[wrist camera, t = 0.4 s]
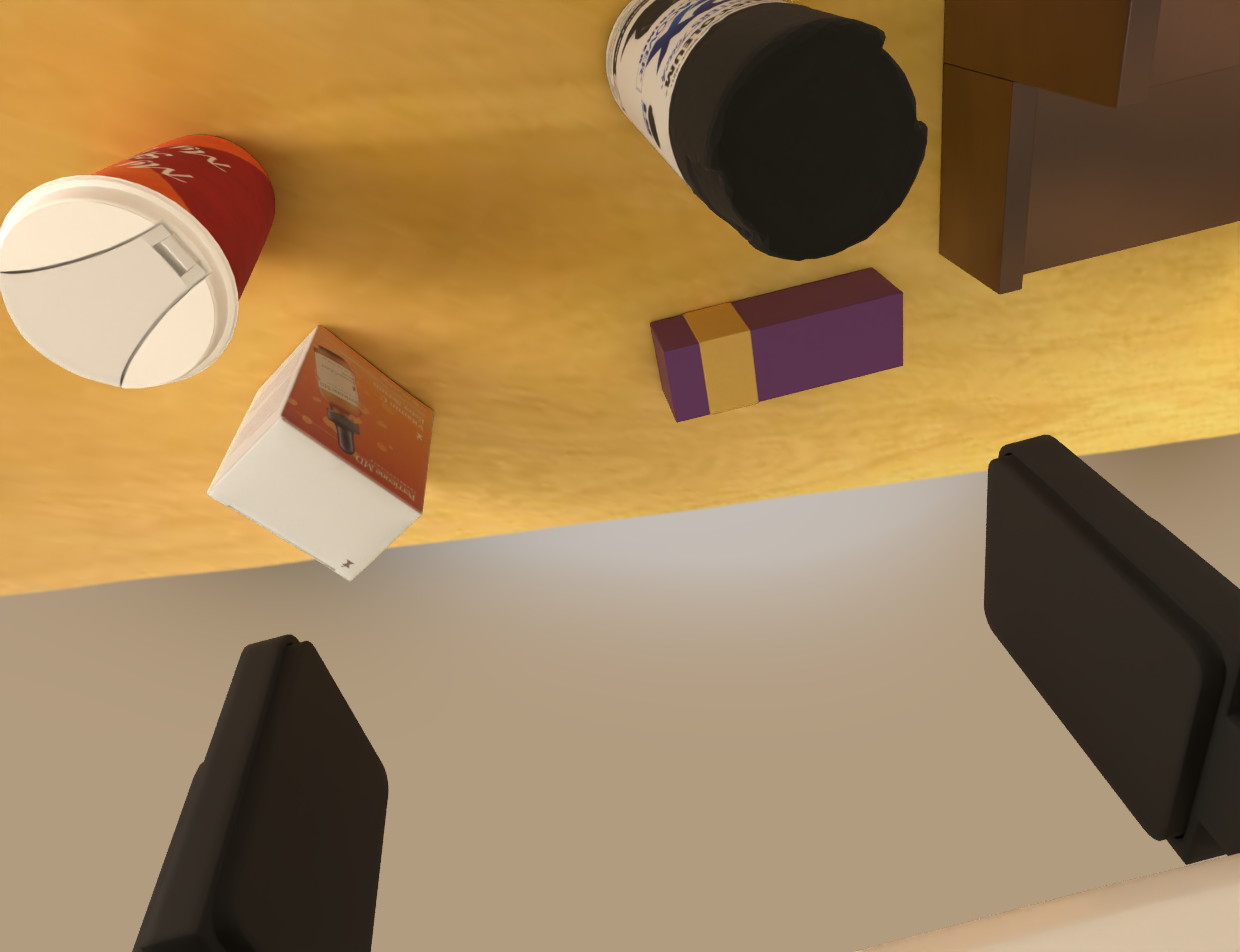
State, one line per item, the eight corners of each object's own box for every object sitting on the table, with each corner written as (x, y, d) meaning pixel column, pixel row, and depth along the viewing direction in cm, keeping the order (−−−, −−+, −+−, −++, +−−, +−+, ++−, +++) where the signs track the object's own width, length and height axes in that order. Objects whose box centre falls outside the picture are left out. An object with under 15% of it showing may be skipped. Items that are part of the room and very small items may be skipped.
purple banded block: (649, 321, 47) (663, 351, 43) (872, 265, 47) (903, 291, 44) (662, 390, 49) (677, 424, 46) (873, 337, 50) (903, 367, 46)
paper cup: (217, 74, 37) (102, 136, 26) (332, 221, 41) (277, 332, 30) (85, 168, 39) (-83, 268, 27) (209, 302, 43) (110, 438, 31)
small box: (436, 410, 48) (428, 516, 39) (373, 471, 49) (352, 587, 41) (318, 319, 44) (280, 415, 35) (254, 388, 46) (202, 496, 37)
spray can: (694, -56, 37) (872, -50, 21) (767, 78, 41) (969, 175, 24) (576, 42, 39) (653, 121, 22) (655, 163, 42) (774, 310, 26)
